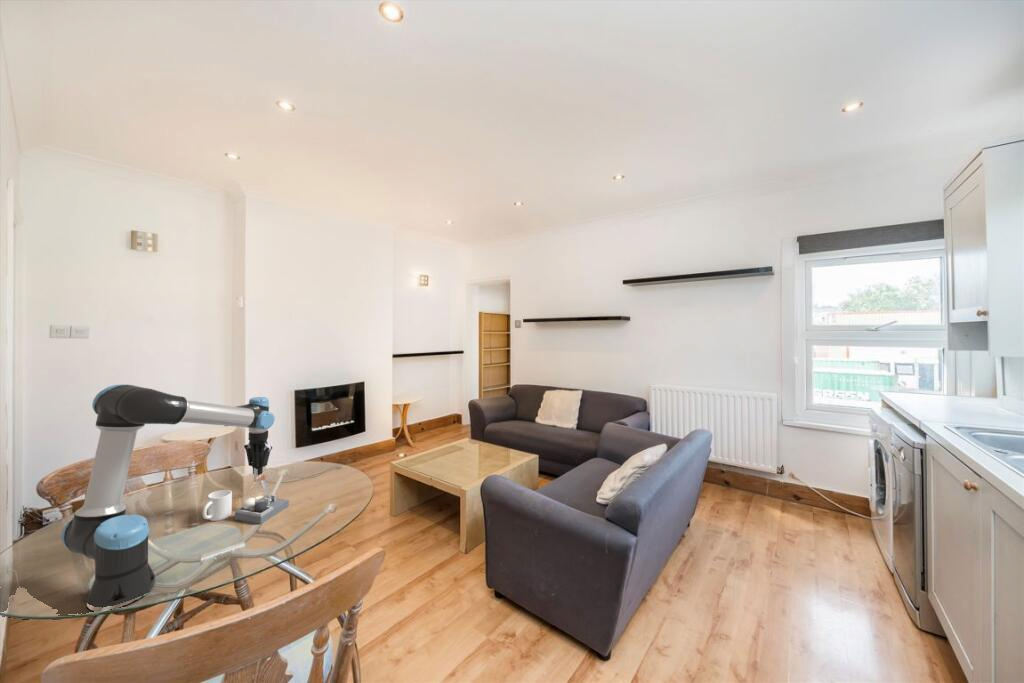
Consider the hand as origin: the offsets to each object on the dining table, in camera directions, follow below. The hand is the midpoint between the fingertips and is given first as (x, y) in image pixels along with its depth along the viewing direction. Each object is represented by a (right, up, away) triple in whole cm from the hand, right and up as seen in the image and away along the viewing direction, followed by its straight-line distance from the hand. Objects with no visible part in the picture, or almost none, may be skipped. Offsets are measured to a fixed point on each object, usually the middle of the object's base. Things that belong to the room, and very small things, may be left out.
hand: (257, 480), depth 174 cm
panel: (+5, -13, -4) cm, 14 cm away
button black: (+7, -10, -9) cm, 15 cm away
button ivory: (+2, -8, -8) cm, 12 cm away
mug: (-11, -13, -11) cm, 20 cm away
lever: (+6, -9, -1) cm, 11 cm away
